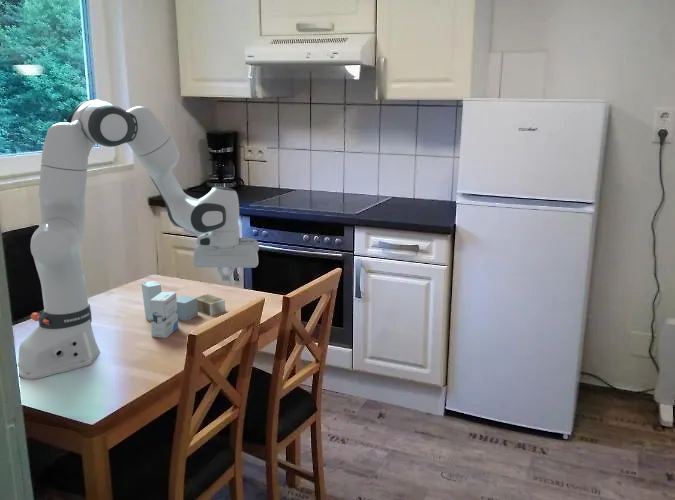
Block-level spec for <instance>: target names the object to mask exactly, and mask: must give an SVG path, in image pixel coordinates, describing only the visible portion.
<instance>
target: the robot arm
mask: <svg viewBox="0 0 675 500" xmlns="http://www.w3.org/2000/svg"><path fill="white" fill-rule="evenodd" d="M96 144H97V145H101V146H104V147H108V148H109V147H111V148H112V147H117V146H118V147H119V146H121V145H123V144H127V145H128V146H130V149H131V150H132V152H133V154H135V156H136V158H137V159H138V160H139V162H140V164H141V165H142V167H144V169H145V170H146V172H147V173H148V175H149V177H150V179H151V180H152V183H153V184H154V186H155V187H156V190H157V191H158V192H159V194H160V196H161V198H162V200H163V201H164V203H165V207H166V212H167V215H168V216H167V217H168V218H169V221H170V222H171V223H172V224H173V225H174V226H175V227H178V228H181V229H182V228H183V229H186V230H190V231H193V232H195V233H196V232H197V233H202V234H199V235H198V236H197V237H196V246H195V248H194V250H193V256H192V257H193V258H192V260H193V262H192V263H193V266H194V267H195V268H217V272H218V273H219V275H220V277H221V282H231V281H232V275H233V273H234V271H235V270H236V269H235V268H240V269H241V268H242V269H243V268H246V269H248V268H254V269H255V268H257V267H258V265H259V254H258V252H259V250H260V243H259V240H257V239H254V238H252V237H250V238H247V237H246V238H245V237H240V236H241V235H240V234H241V233H240V230H241V229H240V224H239V218H240V202H239V201H240V200H239V196H238V193H237V191H236V190H235V189H233V188H231V187H230V188H229V187H225V186H213V187H211V190H209V192H208V193H206V194H205V195H203V196H202V197H200V198H195V197H192V196H190V195H188V194H187V193H185V192H184V190H183V189H182V186H181V185H180V183H179V182H178V180H177V178H176V176H175V174H174V171H173V169H174V168H175V167H176V166H177V164H178V163H179V160H180V150H179V148H178V145H177V144H176V141H175V140H174V138H173V136H172V135H171V134H170V132H169V131H168V129H167V128H166V126H165V125H164V123H163V122H162V121H161V120H160V119H159V118H158V116H157V115H156V114H155V113H154V112H153V111H152V110H151V109H150V108H149V107H146V106H143V105H141V106H140V105H139V106H138V105H137V106H134V107H132V108H129V109H128V110H125V109H124V108H122V107H120V106H118V105H114V104H112V103H111V102H109V101H107V100H100V99H94V98H92V99H86V100H84V101H82V102H81V103H79V104H78V105H77V106H76V107H75V109H73V112H72V113H71V115H70V116H69V117H68V119H67V120H66V122H57V123H55V124H52V125H51V126H49V128H48V130H47V132H46V135H45V139H44V143H43V146H42V147H43V149H42V151H41V163H40V173H39V174H40V175H39V185H38V187H39V188H38V196H39V203H40V207H39V208H40V222H39V226H38V228H36V230H35V231H34V232H33V234H32V236H31V238H30V253H31V255H32V257H33V261H34V264H35V265H34V266H35V267H36V271H37V274H38V278H39V281H40V286H41V294H42V301H43V302H42V303H43V308H44V309H43V310H42V313H38V312H32V313H31V315H30V319H32V320H33V321H35V322H38V326H37V327H36V328H35V329H34V330H33V331H32V332H31V333H30V334H29V335H28V336H27V337H26V338H25V339H24V340H23V341H22V342H21V343H20V345H19V348H18V367H19V375H20V376H19V377H21V378H24V379H27V380H28V379H30V380H36V379H42V378H44V377H48V376H53V375H56V374H60V373H65V372H67V371H71V370H75V369H79V368H83V367H86V366H87V367H88V366H91V365H92V364H93V362H94V359H96V358H97V357H98V356H99V355H100V352H101V351H100V347H99V346H98V344H97V341H96V338H95V336H94V335H95V334H94V331H93V327H92V310H91V305H90V303H89V301H88V300H89V299H88V290H87V280H86V275H85V274H84V270H83V266H82V261H81V256H80V247H81V245H82V243H83V241H84V237H85V221H86V220H85V218H86V217H85V216H86V215H85V214H86V212H85V211H86V209H85V208H86V207H85V206H86V204H85V202H86V201H85V200H86V188H87V177H88V164H89V156H90V152H91V151H92V149H93V148H94V146H95V145H96ZM224 268H226V269H227V268H228V269H229V271H230V272H229V274H228V273H224V271H223V269H224Z"/></svg>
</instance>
